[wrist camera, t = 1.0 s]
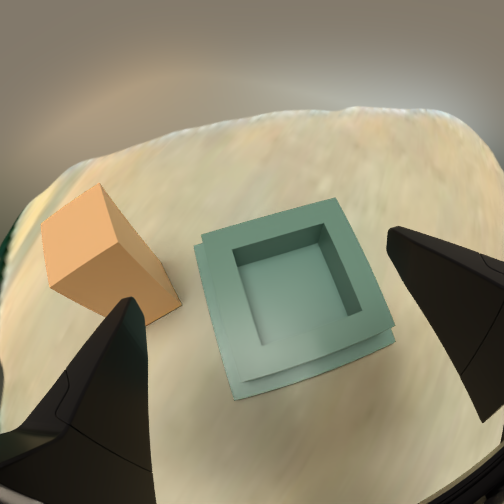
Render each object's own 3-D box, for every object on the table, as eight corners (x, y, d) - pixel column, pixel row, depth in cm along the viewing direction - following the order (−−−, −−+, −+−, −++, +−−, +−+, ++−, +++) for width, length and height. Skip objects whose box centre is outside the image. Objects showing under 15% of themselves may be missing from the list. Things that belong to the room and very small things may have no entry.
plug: (181, 305, 24) (118, 242, 13) (136, 331, 23) (49, 287, 12) (160, 261, 26) (99, 182, 15) (117, 286, 25) (40, 223, 14)
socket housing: (392, 343, 21) (414, 334, 18) (235, 399, 20) (228, 404, 17) (333, 210, 27) (341, 183, 24) (195, 249, 26) (183, 226, 23)
